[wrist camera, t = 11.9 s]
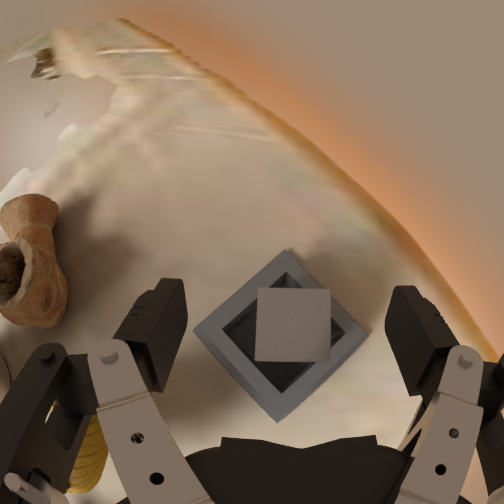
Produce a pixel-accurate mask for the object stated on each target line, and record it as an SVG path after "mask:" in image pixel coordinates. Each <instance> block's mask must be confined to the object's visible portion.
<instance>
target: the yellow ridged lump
mask: <svg viewBox="0 0 504 504" xmlns="http://www.w3.org/2000/svg"><path fill="white" fill-rule="evenodd" d="M55 404H56V403H55V402H54V403H53V405H52V407H51V409H50V410H51V412H52V410H53V408H54V406H55ZM108 450H109V449H108V446H107V443H106V441H105V438H104V435H103V432H102V428H101V425H100V422H99V419H98V415H93V417H92V419H91V422H90V424H89V427H88V429H87V432H86V434H85V437H84V440H83V442H82V445H81V448H80V450H79V453H78V456H77V458H76V461H75V464H74V467H73V470H72V473H71V476H70V479H69V482H68V485H67V488H66V491H65V493H66V492H70V493H72V492H76V493H85V492H89V491H90V490H91V489H93V488H94V487H95V486H96V485H97V483H98V482H99V480H100V478H101V476H102V472H103V470H104V467H105V463H106V460H107V457H108Z"/></svg>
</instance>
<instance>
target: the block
mask: <svg viewBox="0 0 504 504" xmlns="http://www.w3.org/2000/svg"><path fill="white" fill-rule="evenodd" d="M330 342H331V289H304V288H262V287H258V298H257V321H256V343H255V361H274V362H330Z"/></svg>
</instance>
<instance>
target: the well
mask: <svg viewBox="0 0 504 504" xmlns="http://www.w3.org/2000/svg"><path fill="white" fill-rule="evenodd" d="M258 287H262V288H304V289H324V288H323V287H322V286H321V285H320V284H319V283H318V282H317V281H316V280H315V279H314V278H313V277H312V276H311V275H310V274H309V273H308V272H307V271H306V270H305V269H304V268H303V267H302V266H301V265H300V264H299V263H298V262H297V261H296V260H295V259H294V258H293V257H292V256H291V255H290V254H289V253H288V252H287V251H286V250H285V249H284V250H283V251H282V252H281V253H280V254H279V255H278V256H276V257H275V258H274V259H273V260H272V261H271V262H270V263H269V264H267V265H266V266H265V267H264V268H263V269H262V270H261V271H260V272H258V273H257V274H256V275H255V276H254V277H253V278H252V279H250V280H249V281H248V282H247V283H246V284H245V285H244V286H243V287H241V288H240V289H239V290H238V291H237V292H236V293H235V294H233V295H232V296H231V297H230V298H229V299H228V300H226V301H225V302H224V303H223V304H222V305H221V306H220V307H218V308H217V309H216V310H215V311H214V312H213V313H211V314H210V315H209V316H208V317H207V318H206V319H205V320H203V321H202V322H201V323H200V324H199V325H198V326H196V327H195V328H194V329H193V331H194V333H195V334H196V335H197V336H198V337H199V339H200V340H201V341H202V342H203V343H204V345H205V346H206V347H207V348H208V349H209V350H210V352H211V353H212V354H213V355H214V356H215V357H216V359H217V360H218V361H219V362H220V363H221V364H222V365H223V367H224V368H225V369H226V370H227V371H228V372H229V373H230V374H231V375H232V377H233V378H234V379H235V380H236V381H237V382H238V383H239V384H240V385H241V386H242V387H243V388H244V390H245V391H246V392H247V393H248V394H249V395H250V396H251V397H252V398H253V399H254V400H255V401H256V402H257V403H258V404H259V405H260V406H261V407H262V408H263V409H264V410H265V411H266V412H267V413H268V414H269V416H270V417H271V418H272V419H273V420H274V421H276V422H277V423H278V422H279V421H280V420H282V419H283V418H284V417H285V416H286V415H288V414H289V413H290V412H291V411H292V410H293V409H295V408H296V407H297V406H298V405H299V404H300V403H301V402H303V401H304V400H305V399H306V398H307V397H308V396H309V395H310V394H311V393H313V392H314V391H315V390H316V389H317V388H318V387H319V386H320V385H321V384H322V383H323V382H324V381H325V380H327V379H328V378H329V377H330V376H331V375H332V374H333V373H334V372H335V371H336V370H337V369H338V368H339V367H340V366H341V365H342V364H343V363H344V362H345V361H346V360H347V359H348V358H349V357H350V356H351V355H352V354H353V353H354V352H355V351H356V349H357V348H358V347H359V346H360V345H361V344H362V343H363V342H364V341H365V340H366V339H367V338H368V337H369V335H368V334H367V332H366V331H365V330H364V329H363V328H362V327H361V326H360V325H359V324H358V323H357V322H356V321H355V320H354V319H353V318H352V317H351V316H350V315H349V314H348V313H347V312H346V311H345V310H344V309H343V308H342V306H341V305H340V304H339V303H338V302H337V301H336V300H335V299H334V298H333V297H332V296H331V342H330V362H274V361H255V343H256V321H257V298H258Z"/></svg>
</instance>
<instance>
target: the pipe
mask: <svg viewBox="0 0 504 504" xmlns="http://www.w3.org/2000/svg"><path fill="white" fill-rule="evenodd" d="M58 211H59V207H58V205H57V203H56V202H55V201H52V200H51V199H50V198H48V197H46V196H43V195H39V194H26V195H22V196H19V197H16V198H14V199H12V200H10V201H8V202H7V203H5V204H4V205H3V206H2V208H1V210H0V223H1V226H2V227H3V229H4V230H5V232H6V233H7V235H8V237H9V238H10V240H11V241H10V242H6V243H4V244H0V312H1V314H2V315H3V316H4V317H5V318H6V319H8V320H9V321H11V322H12V323H14V324H16V325H20V326H24V325H30V326H34V327H44V328H50V327H52V326H55V325H56V324H58V323H59V322H60V321H61V320H62V319H63V316H64V313H65V308H66V303H67V298H68V284H67V281H66V278H65V276H64V274H63V273H62V271H61V269H60V267H59V264H58V262H57V260H56V259H55V245H54V239H53V235H52V229H53V227H54V224H55V221H56V218H57V215H58Z"/></svg>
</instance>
